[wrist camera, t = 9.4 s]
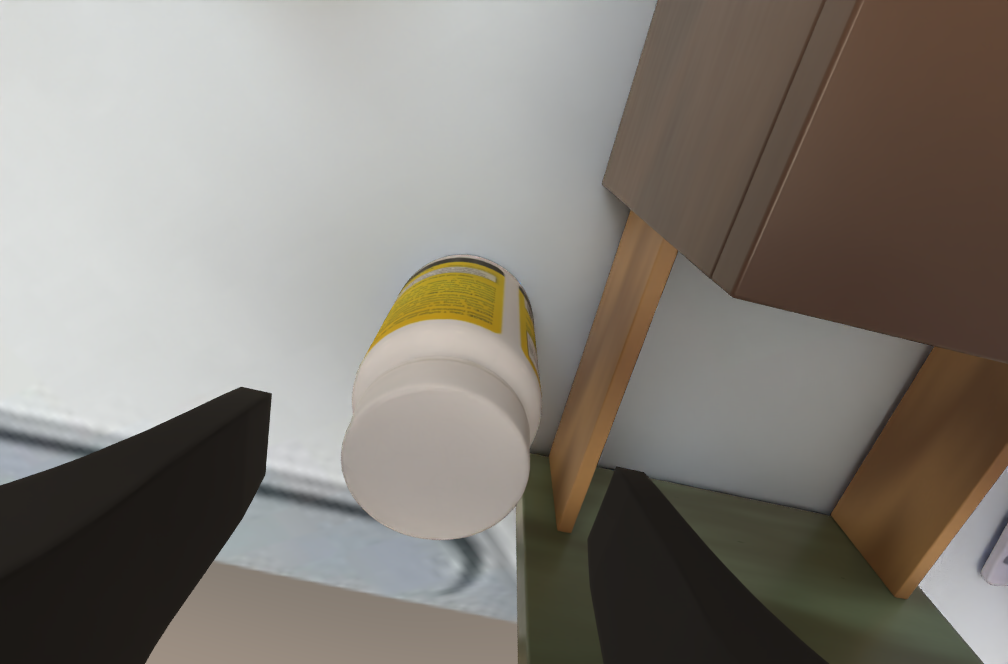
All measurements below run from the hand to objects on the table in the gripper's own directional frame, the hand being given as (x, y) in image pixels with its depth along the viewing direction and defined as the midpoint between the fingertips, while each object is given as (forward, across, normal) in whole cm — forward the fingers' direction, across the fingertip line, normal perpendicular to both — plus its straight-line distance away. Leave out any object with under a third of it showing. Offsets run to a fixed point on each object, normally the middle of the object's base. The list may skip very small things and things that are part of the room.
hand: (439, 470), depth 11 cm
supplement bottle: (+9, 0, 0) cm, 9 cm away
